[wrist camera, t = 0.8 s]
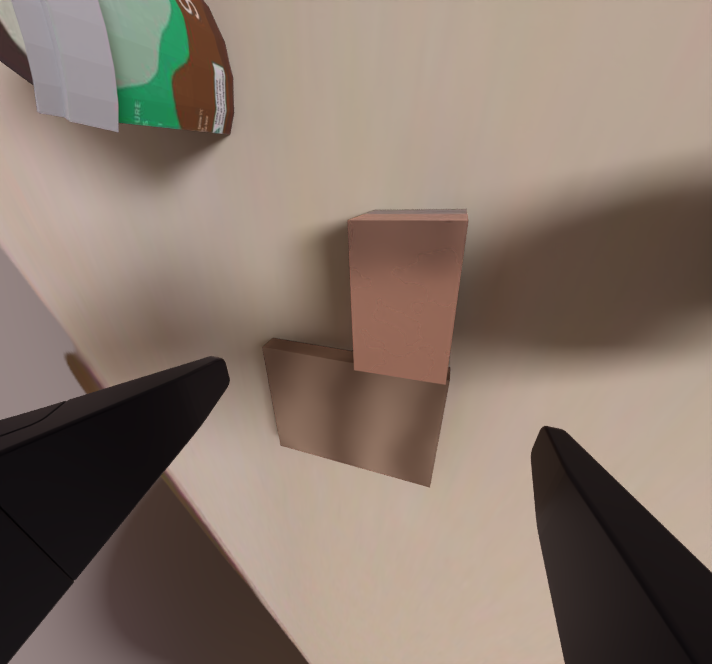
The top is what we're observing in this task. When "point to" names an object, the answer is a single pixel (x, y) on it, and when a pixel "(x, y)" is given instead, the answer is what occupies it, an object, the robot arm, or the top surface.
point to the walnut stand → (354, 411)
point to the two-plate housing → (405, 290)
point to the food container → (121, 61)
